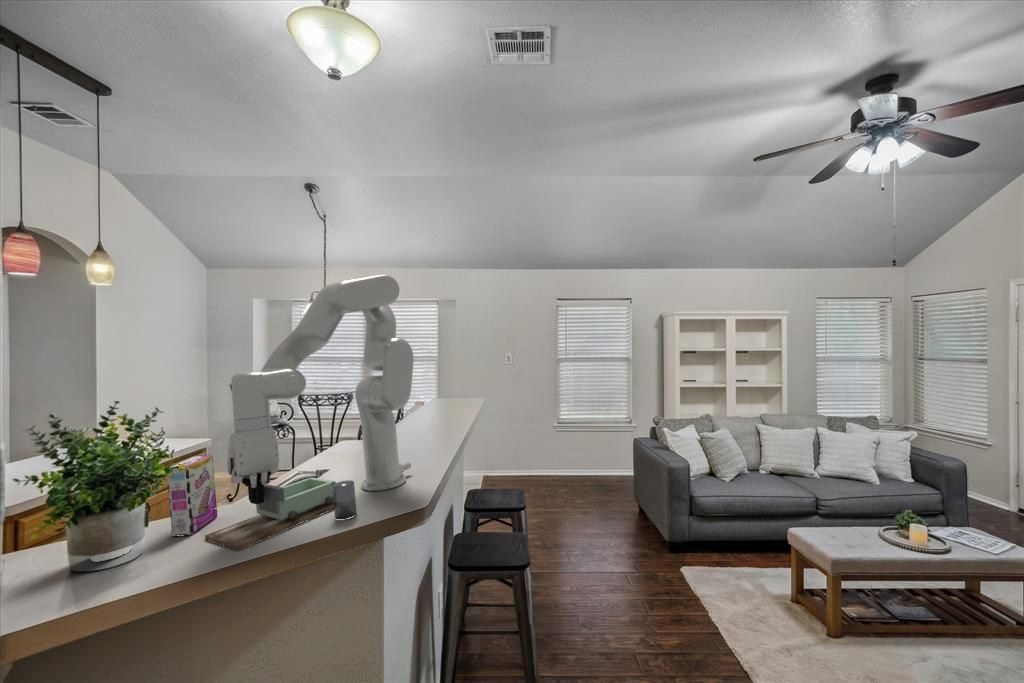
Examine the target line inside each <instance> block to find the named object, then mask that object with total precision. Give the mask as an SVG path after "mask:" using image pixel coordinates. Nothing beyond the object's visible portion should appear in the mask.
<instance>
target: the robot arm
mask: <svg viewBox="0 0 1024 683" xmlns="http://www.w3.org/2000/svg"><path fill="white" fill-rule="evenodd" d="M400 291H401V289H400V285H399V283H398V281H397V280H396V279H395V278H394V277H393V276H391V275H388V274H379V275H378V274H377V275H372V276H366V277H363V278H357V279H356V278H355V279H350V280H349V279H348V280H343V281H339V282H334V283H329V284H327V285H325V286H323V287H322V288H321V289H320V290H319V291H318V293H317V294H316V296H315V297H314V299H313V300H312V303H311V304H310V305H309V307H308V309H307V310H306V312H305V313H304V315H303V317H302V318H301V320H300V321H299V323H298V324H297V325H296V327H295V328H294V330H292V331H291V333H290V334H288V335H287V336H286V338H284V340H283V341H282V342H281V343H280V344H279V345H278V346H277V347H276V348H275V349H274V351H273V352H272V353H271V354H270V356H269V357H268V359H267V361H266V362H265V363H264V365H263V367H262V369H261V370H260V371H246V372H237V373H235V374H233V376H231V378H230V379H231V383H230V384H231V397H232V398H231V399H232V413H233V414H232V416H233V417H232V418H233V430H234V431H233V432H230V434H229V437H228V446H227V474H228V475H230V483H232V484H243V485H244V486H245V487H247V492H248V493H247V494H248V500H249V502H250V504H253V505H256V504H259V503H263V502H264V497H265V488H264V485H265V484H267V482H268V479H270V477H271V476H272V475H274V474H276V473H278V472H279V465H280V453H279V451H280V450H279V446H278V439H277V435H276V432H275V429H274V427H273V426H272V423H273V422H276V416H274V415H272V416H271V409H270V408H271V407H270V405H271V404H270V400H290V399H291V400H292V399H295V398H298V397H299V396H300V395H301V394H303V392H304V391H305V389H306V387H307V386H306V385H307V379H306V377H305V375H304V374H303V373H302V372H301V371H299V370H297V368H298V367H299V366H300V365H301V364H302V363H303V361H306V359H307V358H308V357H310V356H311V355H313V354H315V353H317V352H318V351H320V350H321V349H323V348H324V347H325V346H327V344H328V343H329V342H330V341H331V340H330V339H331V338H332V336H333V334H334V333H335V331H336V329H337V328H338V326H339V324H340V322H342V319H343V318H344V316H345V314H350V313H357V312H362V314H363V316H364V318H365V321H366V327H365V330H366V331H365V342H364V350H363V362H364V365H365V367H367V369H369V370H371V371H373V372H382V375H370V376H366V377H364V378H363V379H362V380H360V381H359V382H358V384H357V385H356V388H355V392H354V394H355V402H356V405H357V409H358V412H359V413H358V414H359V418H360V425H361V436H362V438H361V439H362V447H363V448H362V449H363V457H364V467H365V468H364V469H365V479H363V480H362V481H361V483H360V487H361V489H362V490H364V491H368V492H369V491H370V492H374V491H376V492H377V491H378V492H379V491H384V490H385V491H386V490H390V489H393V488H396V487H399V486H401V485H403V484H404V483H405V482H406V480H407V478H406V475H405V474H403V473H404V472H405V471H407V470H409V469H411V468H412V464H411V462H405V463H403V464H402V463H400V460H399V448H398V436H397V426H396V418H395V415H394V413H393V411H399V410H400V409H403V408H404V407H405V406H406V405H407V404H408V402H409V400H410V396H411V393H412V392H411V391H412V386H413V385H412V383H413V371H414V352H413V349H412V346H411V345H410V343H409V342H408V341H407V340H405V339H403V338H400V337H396V336H397V319H396V316H395V314H394V312H393V310H392V308H391V307H390V305H392V304H393V303H395V302H396V301H397V299H398V298H399V296H400Z"/></svg>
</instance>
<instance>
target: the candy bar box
mask: <svg viewBox="0 0 1024 683" xmlns="http://www.w3.org/2000/svg"><path fill="white" fill-rule="evenodd" d="M178 464H183V465H185V466H187V467H188V468H190V469H189V470H187V471H185V472H183V473H181V472H179V471H180V469H179V467H176V466H179V465H178ZM171 466H172V469H173V472H172V473H174V474H172V475H174V476H172V477H171V478H167V488H168V489H167V490H168V499H169V511H170V512H169V513H170V514H169V515H170V525H171V537H172V536H177V535H189V536H191V535H190V534H193V535H194V534H196V533H197V532H199V531H200V530H201V529H203V528H204V527H205V525H206V524H207V525H209V524H210V523H211V522H213V521H214V520H216V519H217V518H218V506H217V504H218V503H217V496H216V483H215V481H216V480H215V471H214V470H215V469H214V458H213V454H205V455H198V456H192V457H190V458H188V459H185V460H183V461H180V462H178V463H176V464H174V466H173V465H171ZM214 508H217V509H214ZM211 509H212V510H211ZM216 517H217V518H216ZM209 522H210V523H209ZM207 525H206V526H207ZM203 526H204V527H203ZM202 527H203V528H202ZM199 529H200V530H199ZM198 530H199V531H198ZM195 532H196V533H195Z"/></svg>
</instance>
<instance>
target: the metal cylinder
mask: <svg viewBox="0 0 1024 683" xmlns="http://www.w3.org/2000/svg"><path fill="white" fill-rule="evenodd" d="M332 490H333V501H334V510H333V511H334V519H335V518H336V519H346V518H349V517H352V516H354V515H356V514H357V515H358V512H357V500H356V491H355V490H356V489H355V481H353V480H342V481H338V482H336V483H335V484H333V485H332Z"/></svg>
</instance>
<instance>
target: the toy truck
mask: <svg viewBox="0 0 1024 683" xmlns="http://www.w3.org/2000/svg"><path fill="white" fill-rule="evenodd" d="M335 483H337V482H336V480H330V479H329V480H328V479H324V478H317V477H307V478H305V479H302V480H300V481H297V482H293V483H290V484H289V485H288V484H287V485H285V486H283V487H282V486H277V485H271V484H267V483H266V484H265V485H264V488H265V497H264V502H263V503H259V504H255V507H256V514H257V515H260V514H261V515H264V516H268V517H272V518H276V519H280V520H282V519H285V518H287V517H289V519H296V518H297V516H298V513H300V512H302V511H305V510H307V509H309V508H312V507H314V506H317V505H319V504H322V503H324V502H325V503H326V504H332V503H333V490H332V485H333V484H335Z"/></svg>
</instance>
